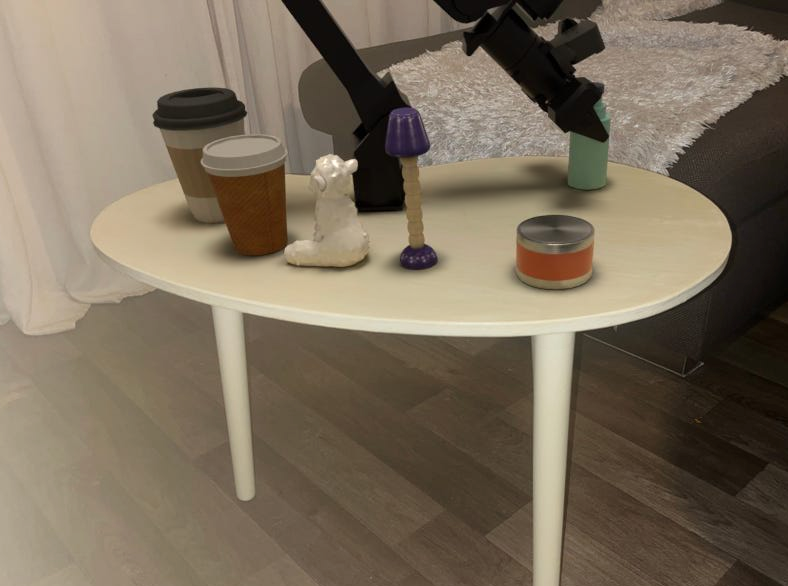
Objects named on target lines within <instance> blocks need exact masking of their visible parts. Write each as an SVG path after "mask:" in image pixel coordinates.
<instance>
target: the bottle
mask: <svg viewBox="0 0 788 586" xmlns="http://www.w3.org/2000/svg"><path fill="white" fill-rule="evenodd" d="M591 82H592V83H593V84H594V85H595V86H596V87H597V88H598V89H599V90H600V91H601V92H602V93H603V94H604V93H605V83H602V82H598V81H597V82H596V81H591ZM594 109H595V111H596V113H597V115H598V117H599V119H600V120H601V122H602V124H603V126H604V127H605V129H606V131H607V133H608V135H609V138H608V139H607V141H606V142H604V143H602V142H599V141H596V140H594V139H591V138H588V137H585V136H582V135H579V134H576V133H573V132H569V143H568V144H569V145H568V164H567V185H568V186H569V187H570V188H574V189H576V190H587V191H588V190H598V189H601V188H603V187H605V186H606V185H607V176H608V175H607V174H608V161H609V149H610V137H611V136H610V135H611V121H612V116H611V115H610V114H609V113H607V104H606V103H605V102H603V96H602V97H601V99H600V100H599V101H598V102H597V103H596V104H595V105H594Z"/></svg>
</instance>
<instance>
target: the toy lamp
mask: <svg viewBox="0 0 788 586" xmlns="http://www.w3.org/2000/svg"><path fill="white" fill-rule="evenodd" d="M430 149H431V142H430V139H429V136H428V133H427V130H426V127H425V124H424V121H423V118H422V115H421V113H420V111H419V109H417V108H414V107H412V108H399V109H395V110H393V111H392V112H391V113H390V116H389V121H388V128H387V135H386V143H385V151H386V153H387V154H388V155H390V156H393V157H401V163H402V165H403V169H402V175H403V178H404V180H405V181H404V191H405V193H406V195H405V201H404V205H405V207H406V210H405V217H406V219H407V226H406V227H407V231H408V233H409V235H408V244H409V245H407V246H406V247H405V248H403V249H402V251H401V253H400V256H399V264H400V266H402V267H403V268H406V269H409V270H423V269H428V268H430V267H432V266H435V265H436V264H437V262H438V255H437V252H436V250H434V248H433V247H432V246H430V245H429V244H426V243H425V242H426V240H425V239H426V237H425V235H424V233H423V232H424V229H425V228H424V227H425V226H424V222H423V215H424V213H423V209H422V207H421V206H422V200H423V199H422V195H421V193H420V192H421V182H420V180H419V177H420V169H419V166H418V162H419V156H423V155H425V154H427V153H428V152H430Z"/></svg>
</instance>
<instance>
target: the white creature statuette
mask: <svg viewBox="0 0 788 586" xmlns="http://www.w3.org/2000/svg"><path fill="white" fill-rule="evenodd" d="M357 167H358V163H357V160H356V159H352V158H351V159H349V160H348V159H347V160H345V161H344V160H343V159H342V158H341V157H340V156H339V155H337V154H335V155H334V154H333V153H329V154H327V155H323V156H320V157H319V158H318V159H316V160H315V167H314V168H313V169H312V171H311V172H310V179H309V183H308V184H309V185H308V190H309V191H311V192H312V193H314V195H315V197H316V198H317V199H316V200H315V207H314V213H315V215H314V216H313V217H314V222H315V224H314V226H313V228H314V230H315V231H314V233H313V238H314V239H313V241H311V240H310V239H308V238H307V239H306V238H305V239H304V240H303V239H302V240H299V239H297V240H295V241H294V242H293V243H289V244H286V246H285V247H284V258H285V260H286V262H287V263H289V264H291V265H295V266H297V267H299V266H305V267H327V268H329V267H335V268H346V267H351V266H354V265H356V264H359V263H360V262H361V261H363V260H364V259H365V257H366V255H367V254H368V253H369V249H370V248H371V247H370V245H369V244H370V242H371V241H370V234H369V233H368V232H367V230H366V229H365V228H364V223H363V222H362V221H361V219H360V217H359V216H358V212H359V211H358V210H357V208H356V207H355V201H353V200H352V198H351V197H350V196H349V195H347V193H346V192H347V191H348V189H349V186H350V184H351V179H352V178H351V177H352V176H351V175H352V173H353V172H355V171H356V170H357Z"/></svg>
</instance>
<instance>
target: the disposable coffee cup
mask: <svg viewBox="0 0 788 586" xmlns="http://www.w3.org/2000/svg"><path fill="white" fill-rule="evenodd" d="M287 157H288V150H287V149H286V148H285V147H284V145H283V141H282V139H281V138H279V137H278V136H274V135H271V134H260V133H252V134H245V135H239V136H232V137H227V138H223V139H219V140H216V141H213V142H211V143H209V144H207V145H206V146H205V147H204V148H203V158H202V159H201V165H202V166H203V167H204V168H205V171H206V172H208V175H209V177H210V180H211V183H212V186H213V189H214V192H215V195H216V198H217V200H218V203H219V206H220V209H221V212H222V215H223V217H224V220H225V222H224V223H225V226H226V229H227V231H228V235H229V237H230V240H231V243H232V246H233V248H234V251H235V252H236V253H238V254H240V255H244V256H264V255H269V254H272V253H275V252H277V251H280V250H282V249H283V248H286V247H287V245H288V220H287V192H286V190H287V189H286V186H287V185H286V161H287Z"/></svg>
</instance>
